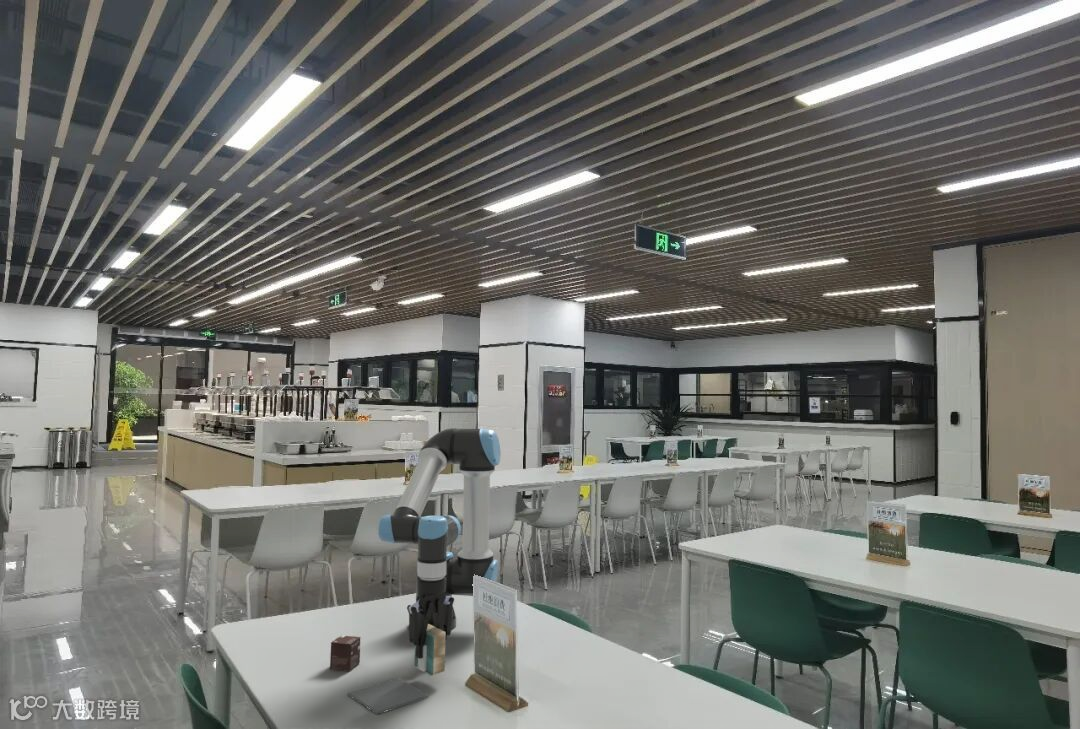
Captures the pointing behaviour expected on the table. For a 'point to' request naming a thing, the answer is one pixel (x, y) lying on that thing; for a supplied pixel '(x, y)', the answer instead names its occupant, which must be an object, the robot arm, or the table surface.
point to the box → (345, 653)
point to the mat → (387, 695)
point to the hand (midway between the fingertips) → (429, 667)
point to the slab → (434, 650)
